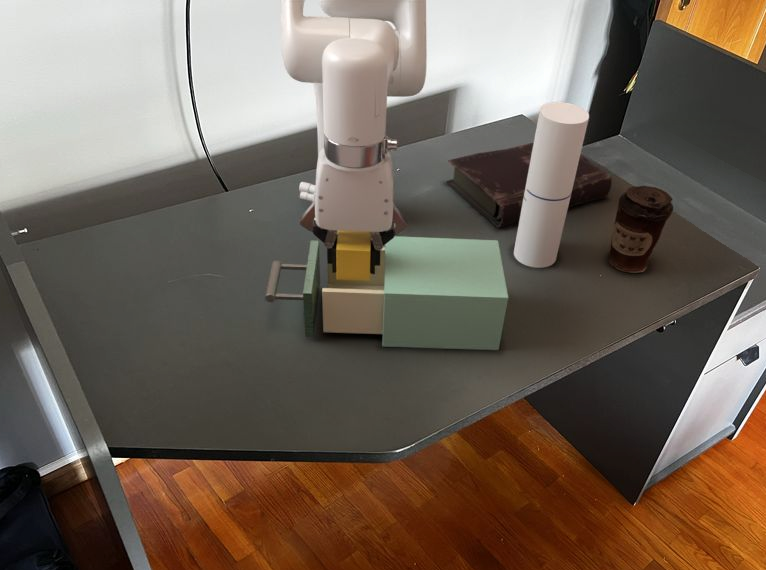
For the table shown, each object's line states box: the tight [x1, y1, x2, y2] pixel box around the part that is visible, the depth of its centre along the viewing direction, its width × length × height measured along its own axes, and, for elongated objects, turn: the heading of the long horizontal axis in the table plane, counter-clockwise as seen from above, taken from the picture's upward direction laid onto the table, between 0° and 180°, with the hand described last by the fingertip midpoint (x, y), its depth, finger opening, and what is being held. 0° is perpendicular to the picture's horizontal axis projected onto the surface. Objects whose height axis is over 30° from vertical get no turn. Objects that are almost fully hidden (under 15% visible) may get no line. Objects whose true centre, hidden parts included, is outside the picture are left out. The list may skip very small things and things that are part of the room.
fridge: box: [381, 235, 509, 351], centre depth 107 cm, size 17×14×10 cm
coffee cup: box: [608, 185, 674, 274], centre depth 119 cm, size 9×8×13 cm
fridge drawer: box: [264, 240, 385, 338], centre depth 106 cm, size 21×12×8 cm, turn 91°
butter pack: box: [336, 230, 372, 281], centre depth 102 cm, size 4×6×5 cm
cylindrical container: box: [513, 101, 590, 269], centre depth 115 cm, size 7×7×25 cm
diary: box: [445, 142, 613, 229], centre depth 137 cm, size 19×25×5 cm
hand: (354, 266), depth 103 cm, fingers closed on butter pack, 4 cm apart
